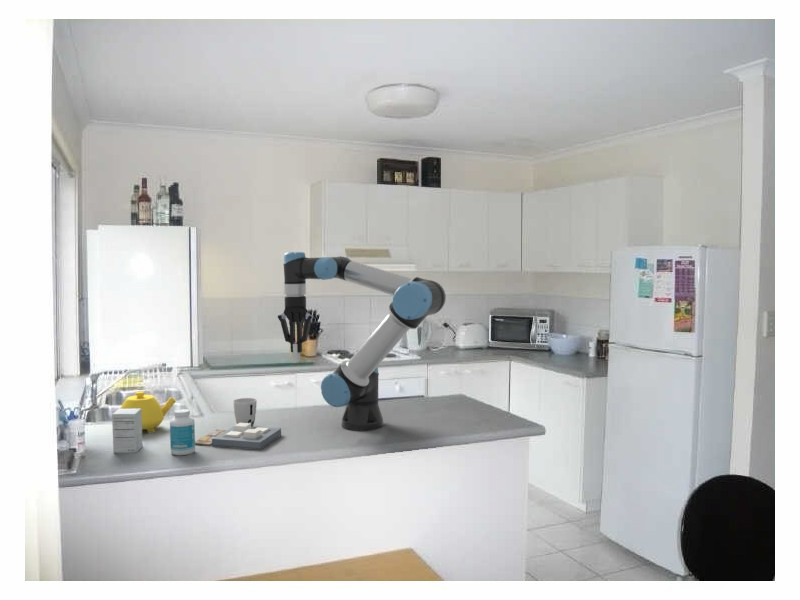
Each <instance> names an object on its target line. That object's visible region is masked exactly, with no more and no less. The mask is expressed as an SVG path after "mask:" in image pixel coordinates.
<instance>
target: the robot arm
mask: <svg viewBox="0 0 800 600" xmlns="http://www.w3.org/2000/svg"><path fill="white" fill-rule="evenodd" d="M283 276H284V283H283V284H284V285H283V286H284V287H283V288H284V290H283V291H284V295H285V297H284V310H283V313H281V314H280V315H279V314H278V315H277V319H278V320H279V322H280V325H281V326H280V327H281V329H282V333H283V336H284V340H285V342H287V343H289V344H290V353H293V354H292V355H293V357H292V359H293V361H292V362H293V363H299V362H300V361H301V353H302V352H303V343H305V342H307V341H308V337H309V332H310V328H311V324H312V321H313V319H314V317H315V315H313V314H310V313H309V312H308V309H307V296H306V294H307V292H306V291H307V290H306V289H307V288H306V287H307V286H306V285H307V284H306V281H307V280H322V281H324V280H325V281H326V280H333V279H339V280H342V281H346V282H349V283H351V284H356V285H358V286H362V287H365V288H369V289H371V290H375V291H377V292H381V293H384V294H387V295H389V296H390V295H391V296H392V301H391V303H390V304H389V305H388V310H389V312H388V313H387V315H386V316H385V318H383V319H382V321H381V322H380V323H379V324H378V326H377V327H376V328H375V329H374V330H373V331H372V333H371V334H370V335H369V336H368V338H366V340H365V341H364V342H363V344H362V345H361V346H360V347H359V348H358V349H357V351H356V352H355V353H354V354H353V355H352V356H351V357H350V360H343V361H342V362H341V363H340V364H339V366H338V367H337V368H336V369H335V370H334V372H333V371H332V373H329V374H327V375H326V376H324V378H322V381H321V384H320V391H321V395H322V397H323V399H324V401H325V402H326V403H327V404H328V405H329V406H331V407H334V408H341V407H342V408H343V407H344V411H343V415H342V418H341V427H342V428H344V429H347V430H351V431H372V430H378V429H380V428H382V427H383V426H384V418H383V414H382V411H381V409H380V405H379V374H380V373H379V366H380V364H381V363H382V362H383V361H384V360H385V358H387V356H388V355H389V354H390V352H391V351H392V350H393V349H394V348H395V347H396V345H398V343H399V342H400V341H401V340H402V339H403V337H404V336H405V335H406V334H407V332H409V330H416V329H417V328H419V326H420V325H421V323H422V322H423V321H424V320H426V318H427V317H428V316H432V315H435V314H438V313H439V312H440V311H441V310H442V309H443V307H444V306H445V304H446V299H447V298H446V291H445V290H444V288H443V286H442V285H441V284H440V283H438V282H437V281H434V280H432V279H431V280H430V279H426V278H422V277H419V276H416V277H413V278H410V277H408V276H405V275H400V274H398V273H394V272H391V271H388V270H384V269H381V268H378V267H374V266H372V265H367V264H364V263H360V262H357V261H353V260H351V259H350V258H348V257H346V256H345V257H344V256H329V257H325V256H324V257H323V256H322V257H306V254H305V252H303V251H300V252H299V251H290V252H289V251H287V252H285V253H284V256H283ZM304 319H305V322H304V329H303V320H304ZM287 320H288V323H287ZM288 324H289V327H288Z"/></svg>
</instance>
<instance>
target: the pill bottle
mask: <svg viewBox="0 0 800 600" xmlns="http://www.w3.org/2000/svg"><path fill="white" fill-rule="evenodd" d="M173 411H174V412H173V414H174V415H173V416H174V417H172V418H171V419H170V420H169V421H170V422H169V434H170V437H169V440H170V454H172V456H173V455H174V456H187V455H190V454H193V453H194V452H195V451H196V445H195V441H196V434H195V433H196V432H195V431H196V430H195V419H194V417H192V416H190V414H191V413H190V412H191V411H190V409H186V408H185V409H183V408H182V409H175V410H173Z"/></svg>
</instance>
